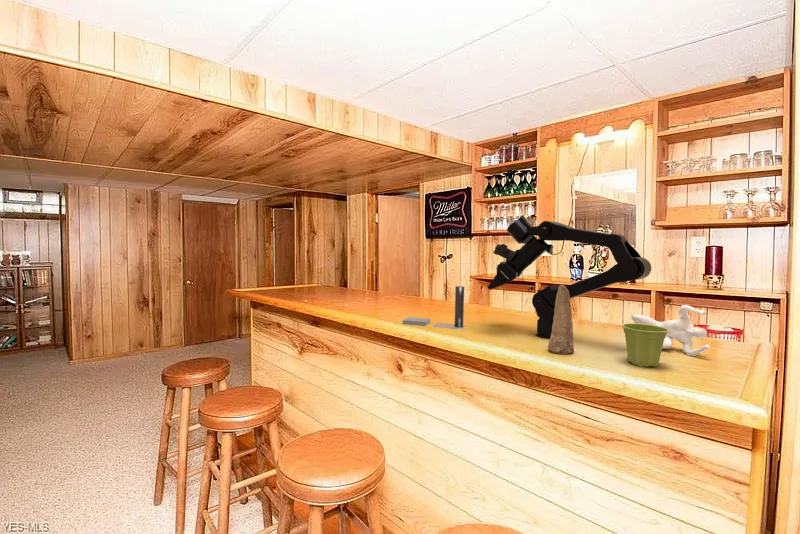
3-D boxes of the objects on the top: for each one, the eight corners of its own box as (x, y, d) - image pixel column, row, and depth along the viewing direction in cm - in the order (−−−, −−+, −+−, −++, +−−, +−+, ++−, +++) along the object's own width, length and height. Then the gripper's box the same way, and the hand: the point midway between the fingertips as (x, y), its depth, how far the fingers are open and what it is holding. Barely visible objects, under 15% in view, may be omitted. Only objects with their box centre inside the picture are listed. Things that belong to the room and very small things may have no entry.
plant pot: (624, 355, 100) (625, 321, 99) (669, 363, 94) (671, 327, 93) (616, 363, 92) (618, 327, 92) (664, 372, 86) (666, 333, 86)
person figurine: (622, 307, 108) (704, 302, 98) (628, 311, 119) (703, 307, 108) (628, 356, 106) (714, 356, 95) (633, 356, 116) (711, 356, 106)
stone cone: (543, 353, 103) (565, 359, 98) (541, 286, 100) (564, 289, 95) (557, 346, 107) (579, 352, 102) (556, 281, 104) (578, 284, 99)
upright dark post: (465, 326, 132) (466, 286, 131) (461, 329, 127) (462, 287, 126) (437, 323, 135) (438, 284, 134) (433, 326, 131) (434, 286, 130)
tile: (430, 318, 137) (408, 317, 140) (425, 322, 131) (402, 320, 134) (430, 323, 137) (408, 321, 140) (425, 327, 131) (402, 325, 134)
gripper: (513, 235, 133) (479, 267, 138) (505, 234, 116) (467, 270, 121) (537, 260, 131) (502, 291, 136) (532, 262, 113) (492, 297, 118)
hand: (491, 287), depth 128 cm, fingers open, 9 cm apart
